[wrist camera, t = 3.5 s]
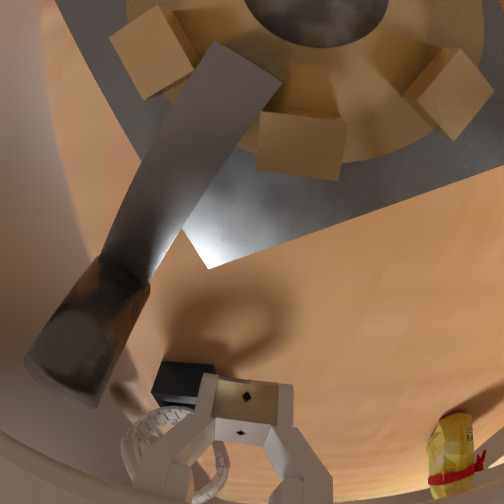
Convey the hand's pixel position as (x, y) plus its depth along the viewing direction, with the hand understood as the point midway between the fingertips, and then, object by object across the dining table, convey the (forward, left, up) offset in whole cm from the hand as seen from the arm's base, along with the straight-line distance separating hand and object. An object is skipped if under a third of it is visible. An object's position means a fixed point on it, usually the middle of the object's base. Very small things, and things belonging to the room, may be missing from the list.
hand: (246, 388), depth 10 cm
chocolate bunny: (-11, +32, -9) cm, 35 cm away
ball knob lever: (-3, -8, -6) cm, 11 cm away
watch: (+11, +10, -9) cm, 17 cm away
